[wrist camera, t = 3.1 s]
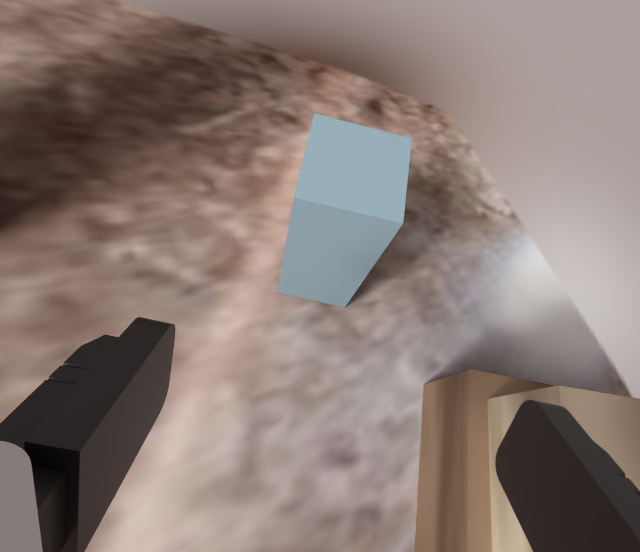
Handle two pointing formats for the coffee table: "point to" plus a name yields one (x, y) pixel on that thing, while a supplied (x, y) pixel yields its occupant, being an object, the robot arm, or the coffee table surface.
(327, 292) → the block
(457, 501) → the tower base
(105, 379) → the robot arm
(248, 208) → the coffee table surface
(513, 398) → the tower top
